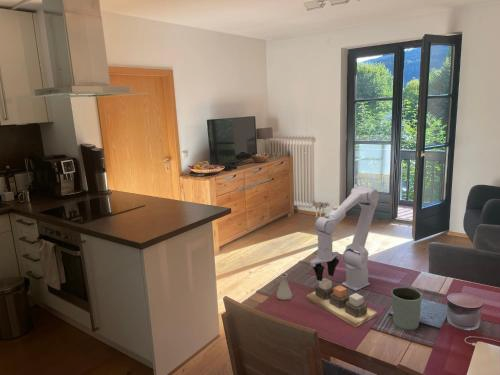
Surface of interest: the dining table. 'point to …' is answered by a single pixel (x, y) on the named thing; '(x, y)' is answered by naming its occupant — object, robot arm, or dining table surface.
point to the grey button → (356, 300)
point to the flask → (284, 289)
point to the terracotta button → (340, 291)
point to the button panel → (341, 306)
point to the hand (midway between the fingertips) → (325, 277)
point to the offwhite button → (325, 284)
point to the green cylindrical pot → (406, 307)
